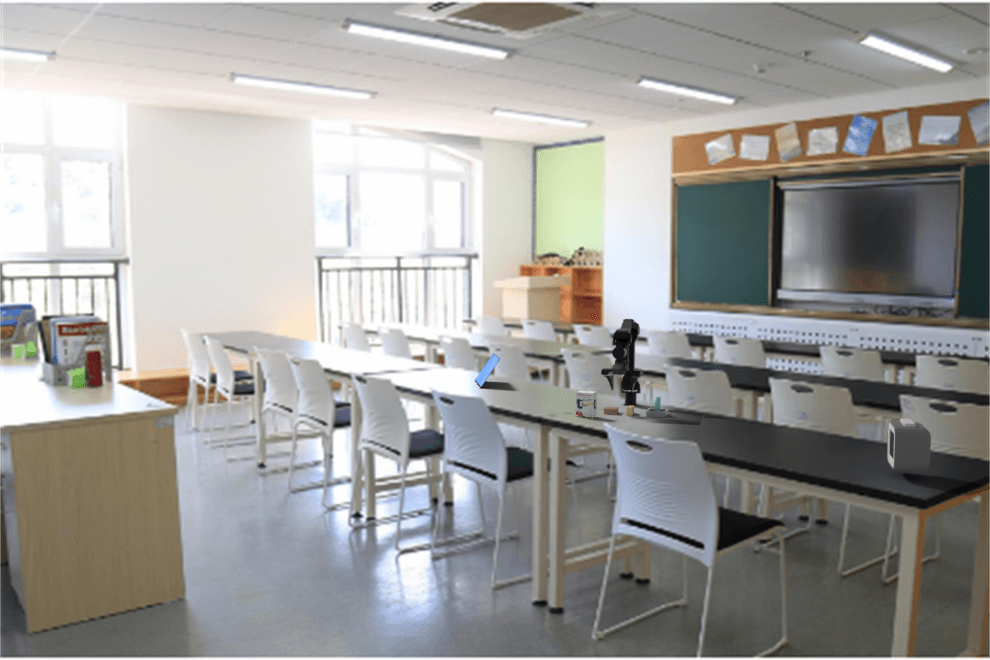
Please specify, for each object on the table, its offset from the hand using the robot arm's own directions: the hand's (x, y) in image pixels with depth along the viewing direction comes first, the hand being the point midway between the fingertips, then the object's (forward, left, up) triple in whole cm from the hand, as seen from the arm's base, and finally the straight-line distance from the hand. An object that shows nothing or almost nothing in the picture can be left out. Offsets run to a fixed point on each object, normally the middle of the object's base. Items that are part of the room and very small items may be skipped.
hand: (621, 390), depth 402 cm
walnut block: (0, -5, -11) cm, 12 cm away
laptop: (-67, -96, -12) cm, 117 cm away
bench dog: (0, +4, -11) cm, 11 cm away
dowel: (0, +16, -10) cm, 19 cm away
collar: (-10, +15, -11) cm, 21 cm away
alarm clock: (+81, +109, -11) cm, 136 cm away
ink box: (+13, -14, -11) cm, 22 cm away
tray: (0, +16, -11) cm, 19 cm away
